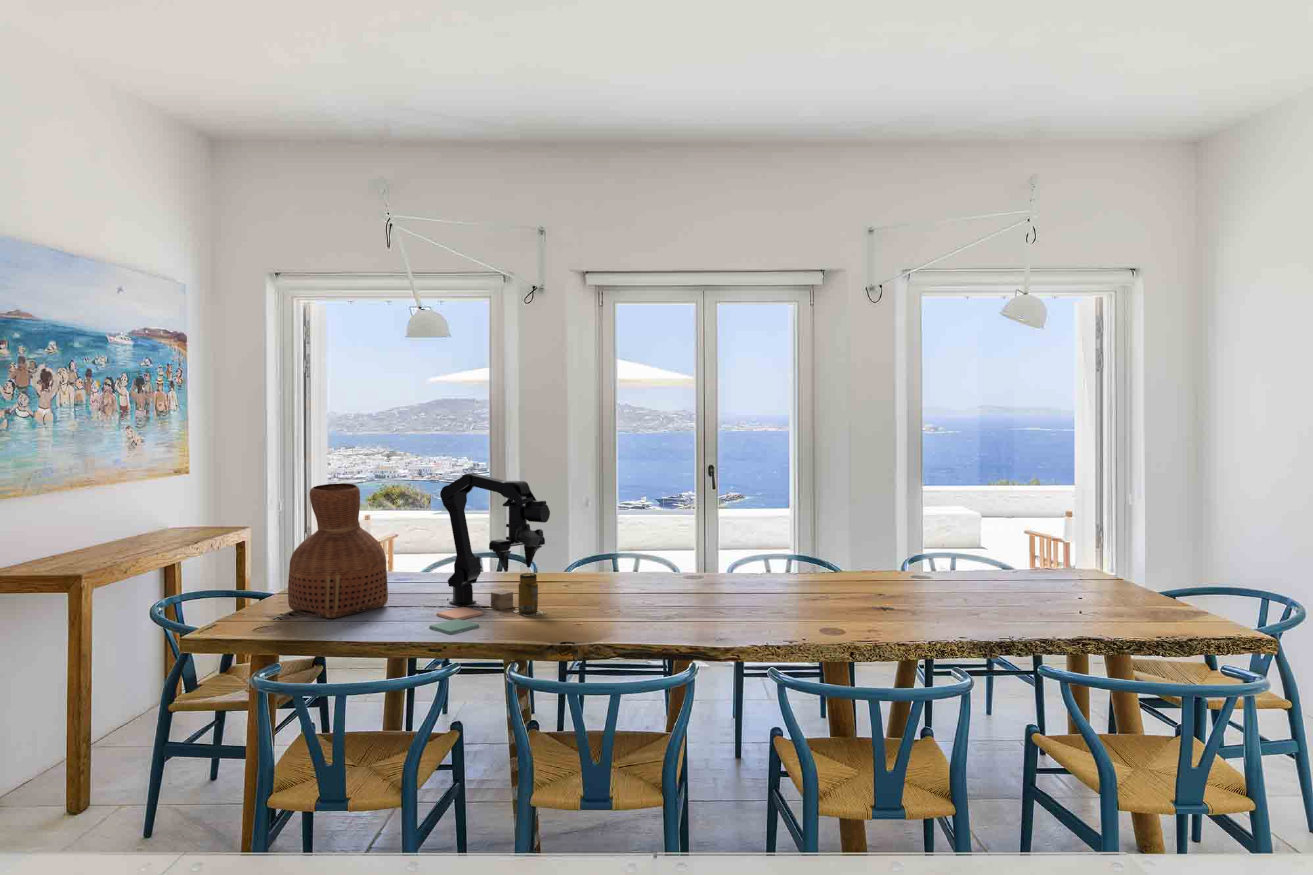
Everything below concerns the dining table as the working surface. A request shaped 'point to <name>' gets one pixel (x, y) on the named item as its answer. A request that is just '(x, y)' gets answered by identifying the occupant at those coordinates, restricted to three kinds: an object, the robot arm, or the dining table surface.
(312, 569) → the basket
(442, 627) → the mat green
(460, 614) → the mat terracotta
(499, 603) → the brown cube
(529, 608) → the condiment
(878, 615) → the dining table surface
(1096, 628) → the dining table surface
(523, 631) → the dining table surface
